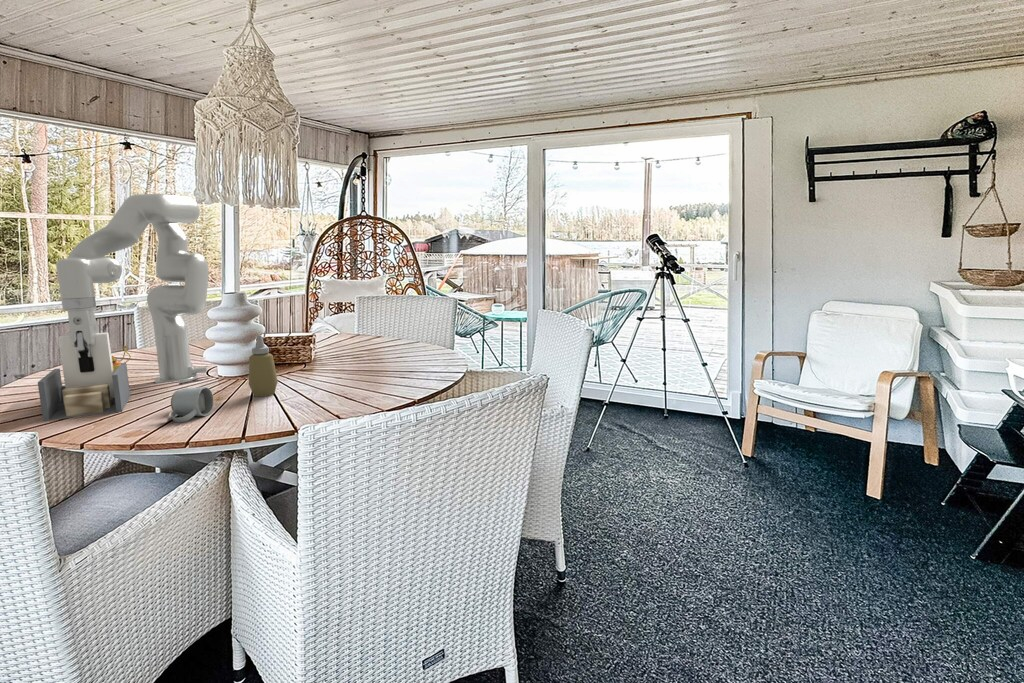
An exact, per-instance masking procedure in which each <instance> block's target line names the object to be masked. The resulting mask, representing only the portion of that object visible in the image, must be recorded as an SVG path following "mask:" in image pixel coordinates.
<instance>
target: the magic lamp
mask: <svg viewBox="0 0 1024 683" xmlns="http://www.w3.org/2000/svg"><path fill="white" fill-rule="evenodd" d="M122 348H123V350H124V352H123V356H122V357H121V359H117V358H116V357H115V356H114V355H111V356H112V363H113V370H114V372H115V371H116V369H117V368H118V367H119V365H120V364H121V363H122V361H123V360H124V359H125V355H126V354H127V355H128V356H129V357H128V359H127V360H125V361H124V362H123V363H126V364H127V362H128V361H130V360H131V358H132V357H131V354H130V353H129V352H128V345H127V344H125V345H123V346H122Z"/></svg>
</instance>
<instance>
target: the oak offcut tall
mask: <svg viewBox="0 0 1024 683" xmlns="http://www.w3.org/2000/svg"><path fill="white" fill-rule="evenodd" d="M100 391H103V398H104V406H105V408H110V407H111V405H112V404H111V397H110V389H109V384H104V385H94V386H84V387H74V388H65V389H64V390H62V394H63V400H64V397H65V396H66V395H71V394H80V393H90V392H100ZM64 407H65V402H64ZM65 413H66V409H65Z"/></svg>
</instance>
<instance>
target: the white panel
mask: <svg viewBox="0 0 1024 683" xmlns="http://www.w3.org/2000/svg"><path fill="white" fill-rule="evenodd" d="M95 339H96V344H95V345H94V346H91V345H90V351H91V357H93V363H94V371H93V372H83V373H81V372H80V367H79V360H78V351H77V347H74V346H73V345H72V341H71V335H70V334H67V335H60V336H58V337H57V340H58V347H59V352H60V354H59V355H60V360H61V367H62V368H61V369H62V374H63V380H64V386H65V387H66V388H74V387H84V386H94V385H104V384H109V389H110V397H111V398H114V397H115V395H114V388H113V380H112V374H113V373H114V370H113V363H112V356H113V355H112V350H111V344H110V343H111V341H110V334H109V332H98V333H97V334H95ZM75 344H77V343H76V342H75ZM76 346H77V345H76ZM84 346H87V344H84ZM85 349H87V348H85Z"/></svg>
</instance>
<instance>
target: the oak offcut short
mask: <svg viewBox="0 0 1024 683" xmlns="http://www.w3.org/2000/svg"><path fill="white" fill-rule="evenodd" d="M64 402H65V409H66V416H73V415H82V414H90V413H99V412H103V411H104V410H105V406H104V398H103V391H100V392H90V393H80V394H71V395H66V396H65V397H64Z"/></svg>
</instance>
